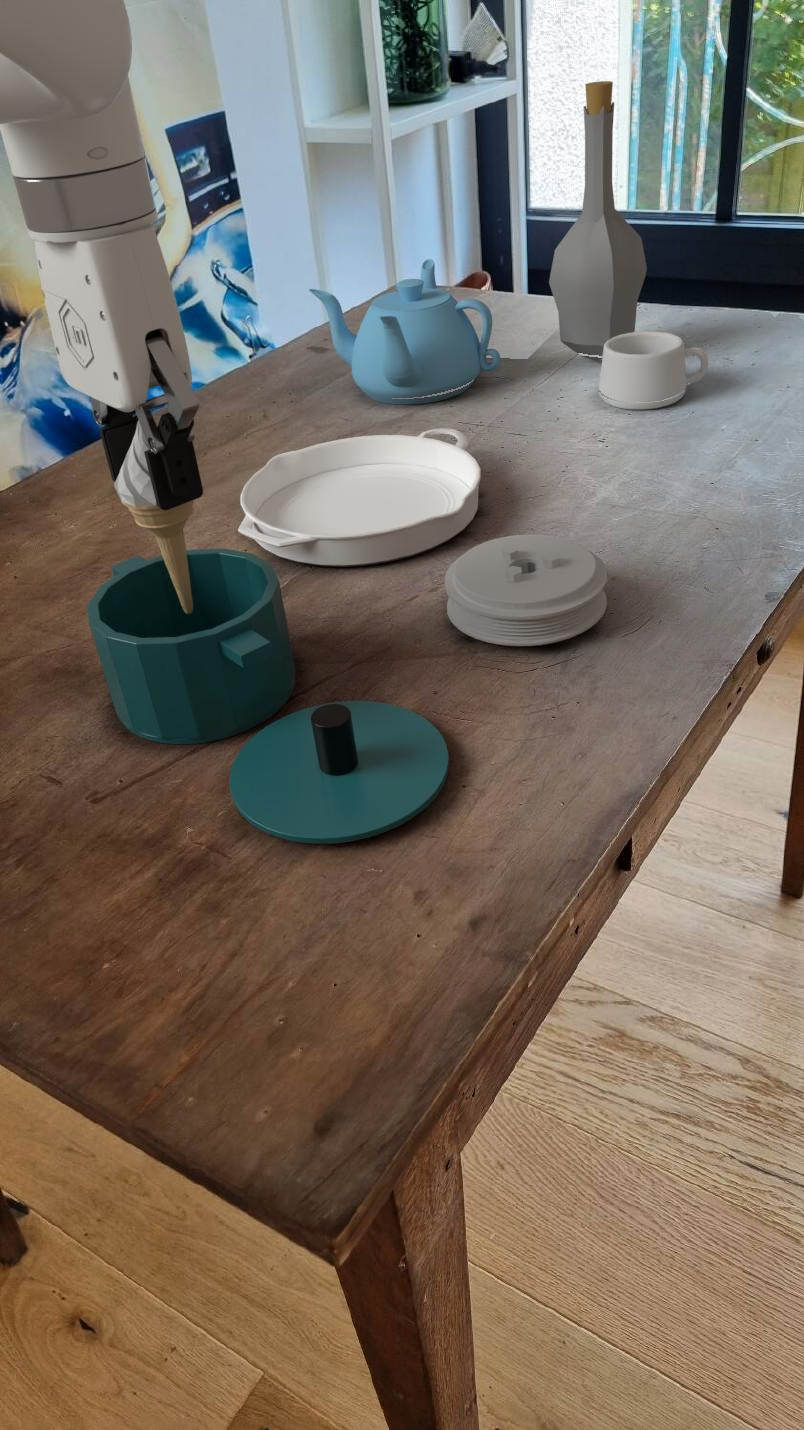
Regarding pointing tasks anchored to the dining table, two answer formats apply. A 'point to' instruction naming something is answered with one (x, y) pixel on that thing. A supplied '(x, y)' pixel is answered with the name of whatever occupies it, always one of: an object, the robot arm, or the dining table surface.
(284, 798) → the pot lid
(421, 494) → the pan
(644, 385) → the mug
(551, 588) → the lid
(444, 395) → the teapot
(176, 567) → the ice cream cone
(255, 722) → the pot
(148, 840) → the dining table surface
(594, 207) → the bottle
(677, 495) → the dining table surface
